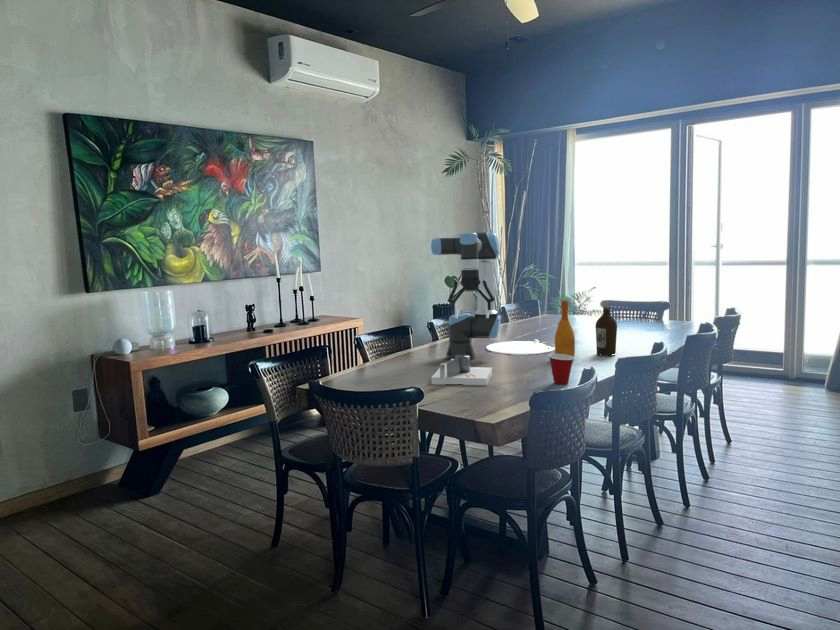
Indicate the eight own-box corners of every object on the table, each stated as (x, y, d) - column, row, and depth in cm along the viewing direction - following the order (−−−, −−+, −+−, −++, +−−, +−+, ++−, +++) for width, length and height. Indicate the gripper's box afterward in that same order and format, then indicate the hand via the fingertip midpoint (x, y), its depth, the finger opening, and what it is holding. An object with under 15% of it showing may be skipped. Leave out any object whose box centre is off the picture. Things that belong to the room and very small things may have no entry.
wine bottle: (566, 356, 315) (566, 298, 312) (578, 360, 307) (579, 300, 303) (550, 359, 311) (550, 300, 307) (563, 362, 302) (563, 301, 299)
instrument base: (440, 373, 286) (440, 358, 285) (492, 374, 281) (491, 359, 280) (431, 384, 265) (431, 368, 264) (486, 385, 260) (486, 369, 259)
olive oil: (606, 352, 325) (606, 305, 322) (621, 355, 316) (621, 306, 313) (591, 354, 320) (591, 306, 317) (606, 357, 311) (606, 308, 308)
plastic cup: (575, 386, 254) (576, 358, 252) (549, 386, 255) (549, 357, 254) (573, 380, 264) (573, 353, 263) (548, 380, 266) (548, 353, 265)
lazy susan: (510, 340, 371) (510, 335, 370) (570, 346, 346) (570, 340, 345) (472, 351, 340) (472, 345, 340) (535, 358, 315) (535, 352, 315)
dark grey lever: (459, 369, 278) (459, 354, 277) (472, 370, 275) (472, 355, 274) (436, 378, 260) (435, 362, 259) (449, 380, 257) (448, 363, 256)
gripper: (439, 270, 263) (442, 319, 266) (497, 268, 256) (499, 318, 259) (443, 269, 270) (445, 317, 273) (500, 267, 264) (501, 316, 266)
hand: (471, 317), depth 266 cm, fingers open, 13 cm apart
